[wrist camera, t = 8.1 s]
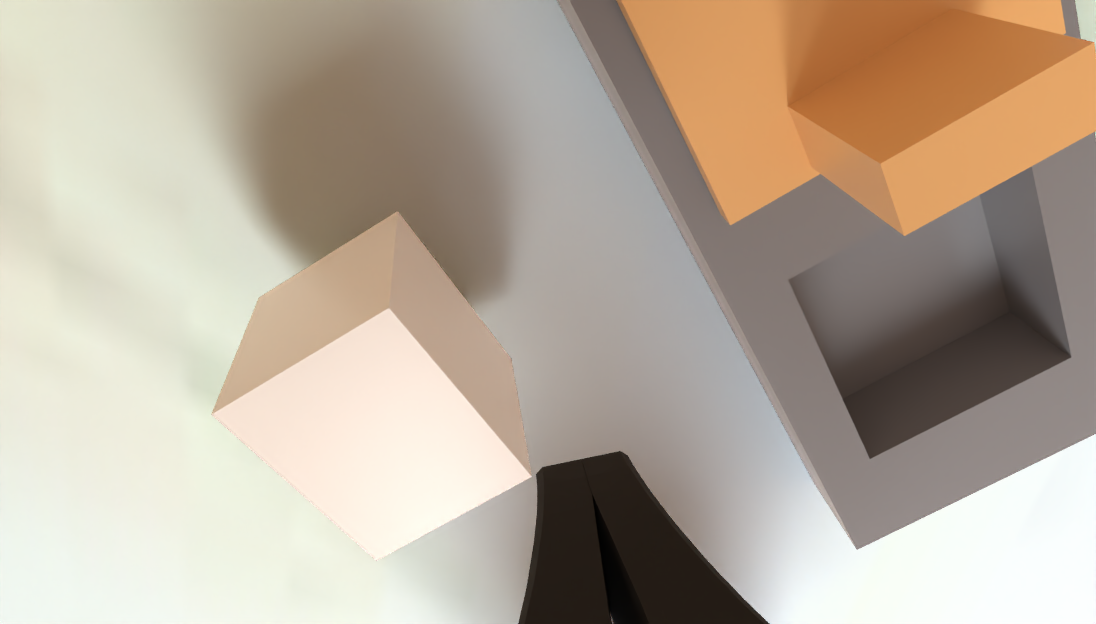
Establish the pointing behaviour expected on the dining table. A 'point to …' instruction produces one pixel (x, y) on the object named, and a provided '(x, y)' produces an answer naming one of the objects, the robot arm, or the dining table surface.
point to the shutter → (867, 95)
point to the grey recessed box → (890, 310)
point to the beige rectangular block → (377, 392)
